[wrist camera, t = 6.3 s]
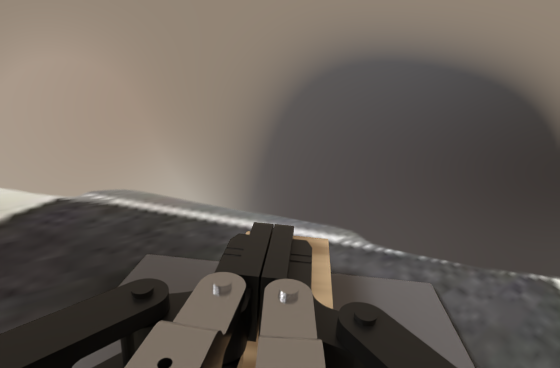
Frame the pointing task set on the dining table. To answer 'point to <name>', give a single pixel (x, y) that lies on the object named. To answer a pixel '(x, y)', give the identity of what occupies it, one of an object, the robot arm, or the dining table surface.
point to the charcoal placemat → (345, 289)
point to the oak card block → (319, 288)
